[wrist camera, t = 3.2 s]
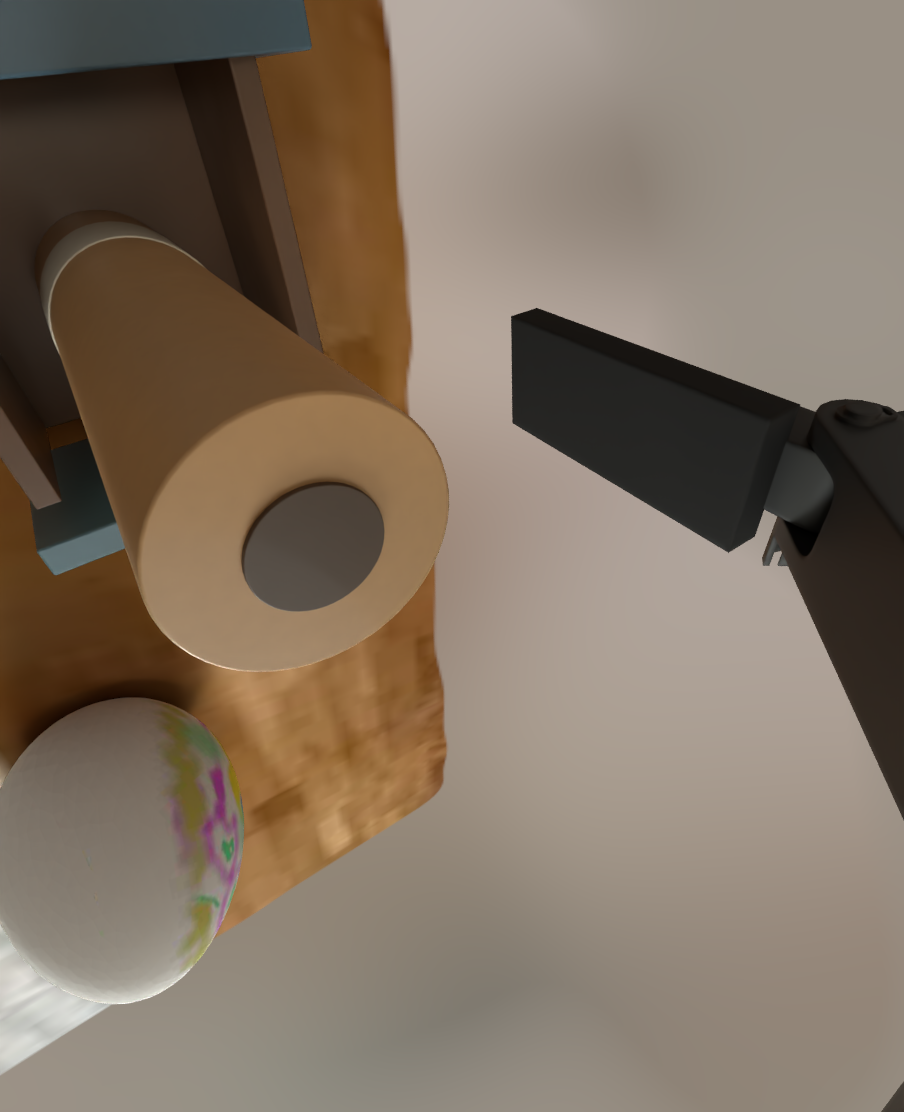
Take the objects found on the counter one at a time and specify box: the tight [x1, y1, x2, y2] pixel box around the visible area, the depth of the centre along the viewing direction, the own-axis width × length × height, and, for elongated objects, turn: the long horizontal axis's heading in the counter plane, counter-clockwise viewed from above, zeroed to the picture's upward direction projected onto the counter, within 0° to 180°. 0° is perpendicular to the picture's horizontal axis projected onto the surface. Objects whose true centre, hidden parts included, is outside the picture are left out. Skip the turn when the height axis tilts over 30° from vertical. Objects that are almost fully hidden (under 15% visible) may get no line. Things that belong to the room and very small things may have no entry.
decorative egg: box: [0, 698, 244, 1004], centre depth 31 cm, size 12×12×15 cm
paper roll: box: [35, 210, 449, 672], centre depth 16 cm, size 5×5×20 cm
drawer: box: [0, 56, 323, 575], centre depth 22 cm, size 19×12×8 cm, turn 6°
